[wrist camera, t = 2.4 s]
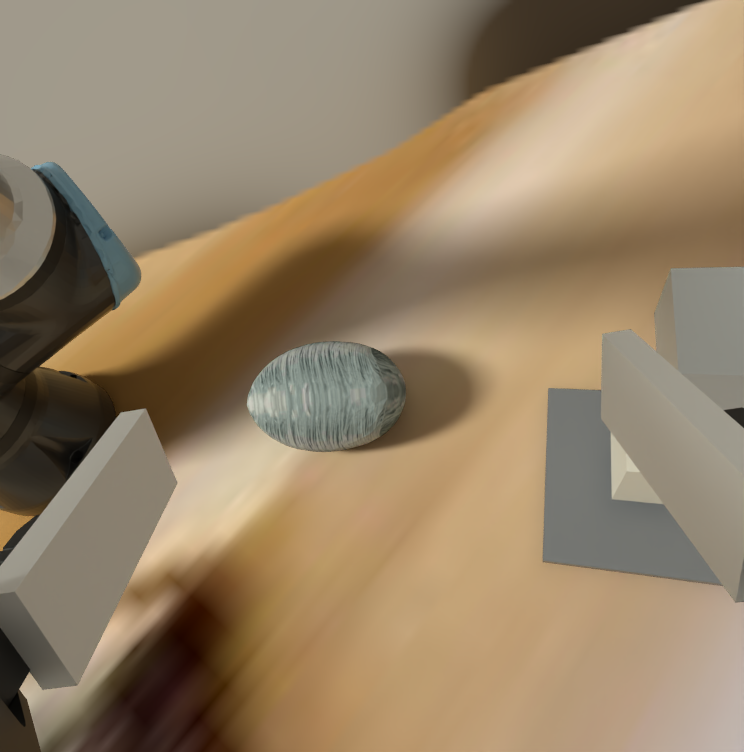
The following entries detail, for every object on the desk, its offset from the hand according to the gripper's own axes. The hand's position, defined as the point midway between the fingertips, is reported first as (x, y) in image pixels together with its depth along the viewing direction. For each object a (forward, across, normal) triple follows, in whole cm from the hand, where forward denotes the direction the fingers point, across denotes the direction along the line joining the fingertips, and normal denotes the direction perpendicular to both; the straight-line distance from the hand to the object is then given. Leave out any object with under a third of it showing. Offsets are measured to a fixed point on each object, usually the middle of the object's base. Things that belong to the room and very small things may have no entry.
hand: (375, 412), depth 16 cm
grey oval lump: (+30, -6, -18) cm, 36 cm away
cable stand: (+20, +17, -21) cm, 34 cm away
